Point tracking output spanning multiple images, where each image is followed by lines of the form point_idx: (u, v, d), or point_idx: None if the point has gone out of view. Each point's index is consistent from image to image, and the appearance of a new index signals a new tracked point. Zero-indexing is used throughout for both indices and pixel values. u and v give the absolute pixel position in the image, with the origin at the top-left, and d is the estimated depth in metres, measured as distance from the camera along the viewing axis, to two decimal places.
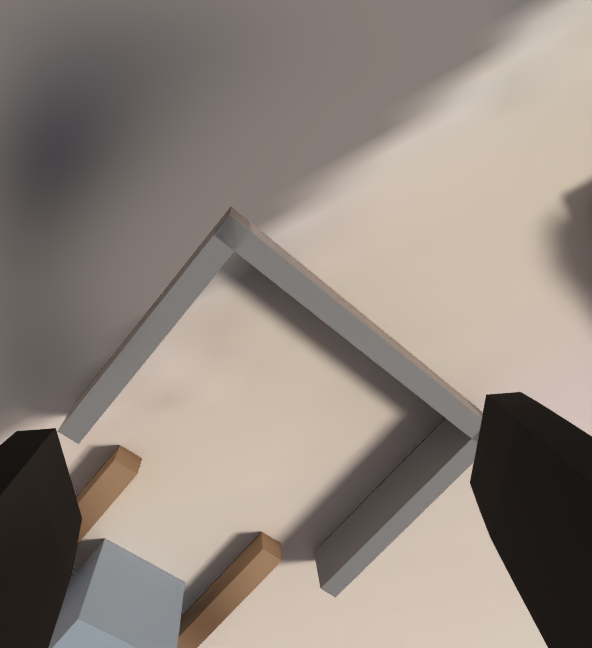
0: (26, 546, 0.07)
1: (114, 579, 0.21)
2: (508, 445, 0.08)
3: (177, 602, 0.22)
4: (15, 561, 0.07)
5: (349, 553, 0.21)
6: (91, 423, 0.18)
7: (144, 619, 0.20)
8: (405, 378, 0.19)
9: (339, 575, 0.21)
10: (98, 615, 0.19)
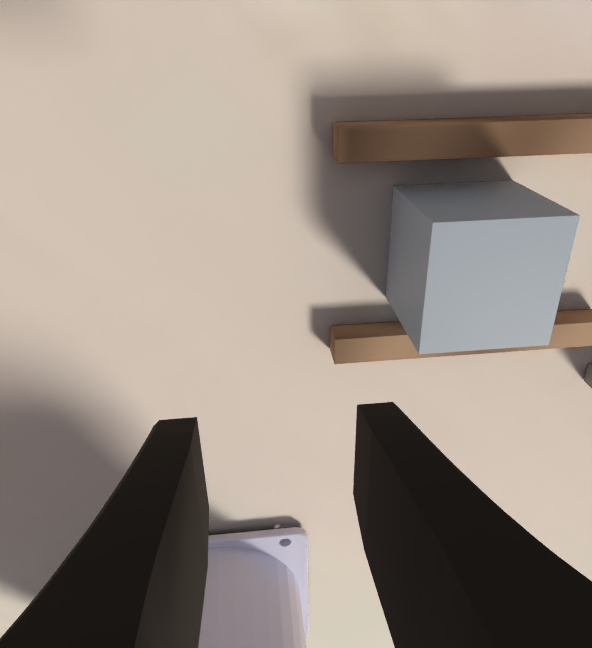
0: (190, 530, 0.07)
1: None
2: (369, 457, 0.08)
3: None
4: (186, 545, 0.07)
5: None
6: None
7: None
8: None
9: None
10: None
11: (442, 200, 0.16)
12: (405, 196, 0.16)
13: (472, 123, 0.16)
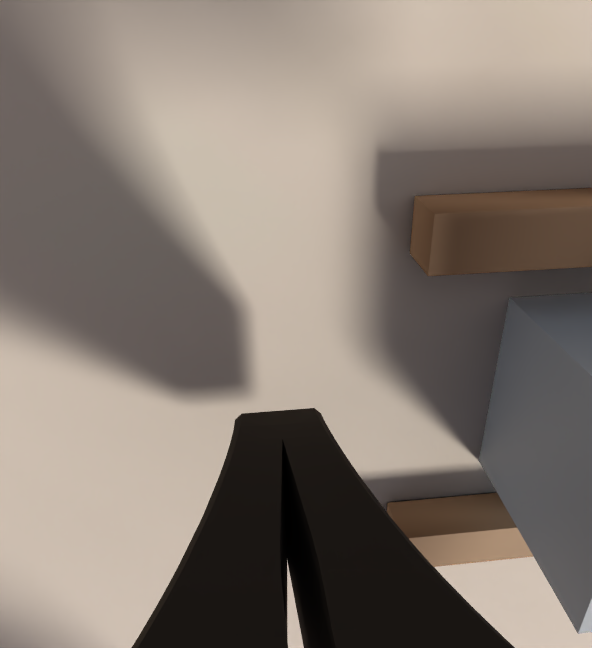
0: None
1: None
2: (283, 464, 0.08)
3: None
4: (283, 536, 0.07)
5: None
6: None
7: None
8: None
9: None
10: None
11: None
12: (546, 333, 0.09)
13: None
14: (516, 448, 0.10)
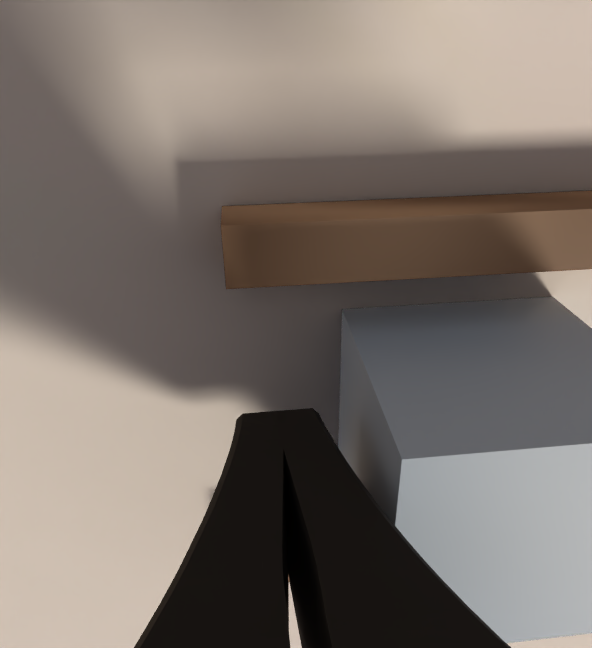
0: (285, 522, 0.08)
1: None
2: None
3: None
4: (284, 536, 0.07)
5: None
6: None
7: None
8: None
9: None
10: None
11: (427, 363, 0.08)
12: (357, 347, 0.09)
13: (484, 215, 0.08)
14: (350, 464, 0.10)
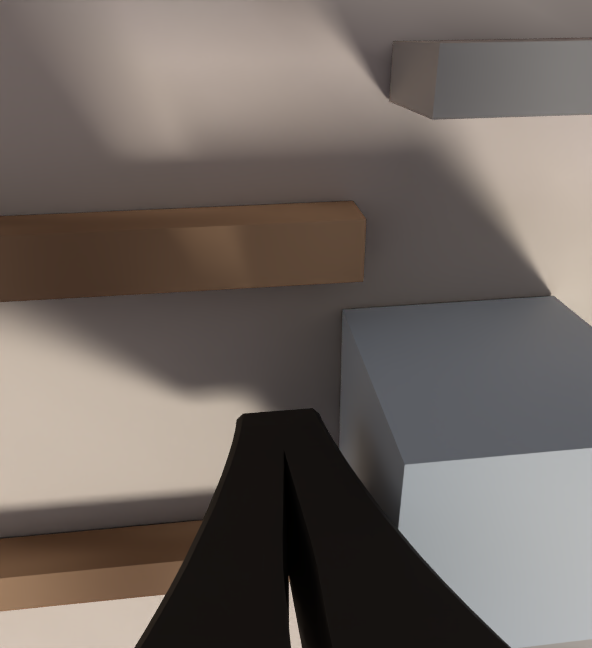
0: (285, 522, 0.08)
1: None
2: None
3: None
4: (285, 535, 0.07)
5: None
6: (507, 108, 0.06)
7: None
8: None
9: None
10: None
11: (429, 366, 0.08)
12: (359, 350, 0.08)
13: None
14: (352, 467, 0.10)
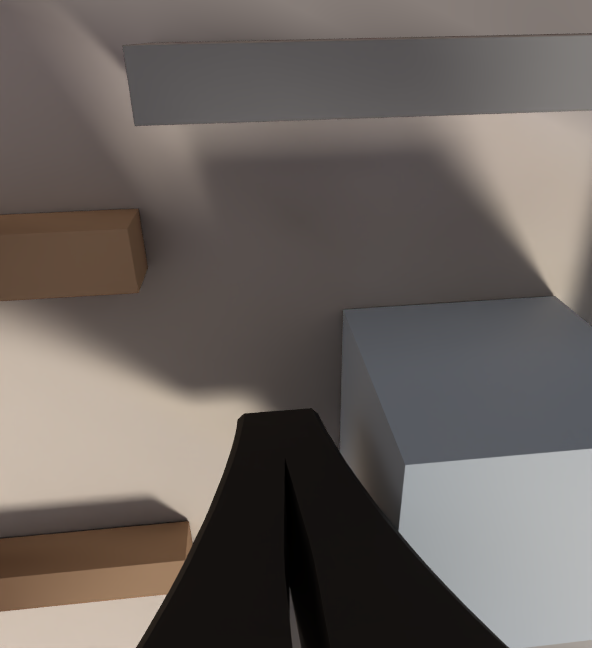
0: (286, 522, 0.08)
1: None
2: None
3: None
4: (286, 535, 0.07)
5: None
6: (215, 114, 0.06)
7: None
8: None
9: None
10: None
11: (430, 366, 0.08)
12: (360, 350, 0.08)
13: None
14: (353, 467, 0.10)
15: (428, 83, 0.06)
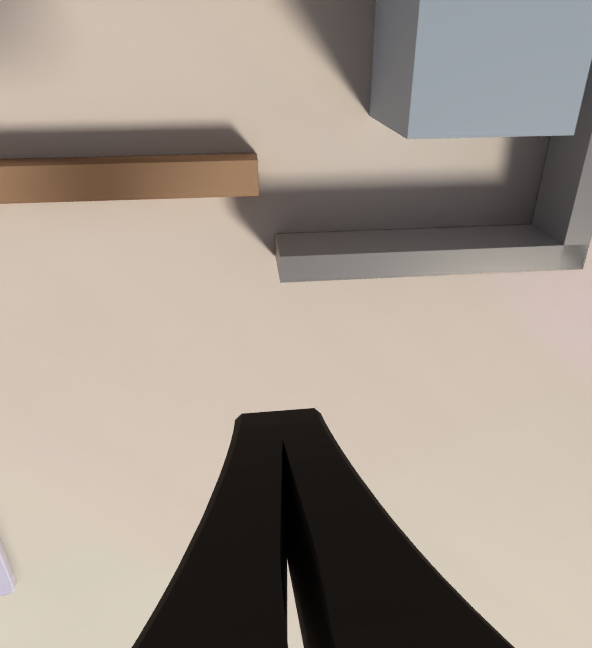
0: None
1: None
2: (283, 464, 0.08)
3: None
4: (283, 536, 0.07)
5: (341, 250, 0.16)
6: None
7: None
8: None
9: (311, 262, 0.15)
10: None
11: None
12: None
13: None
14: (383, 62, 0.14)
15: None
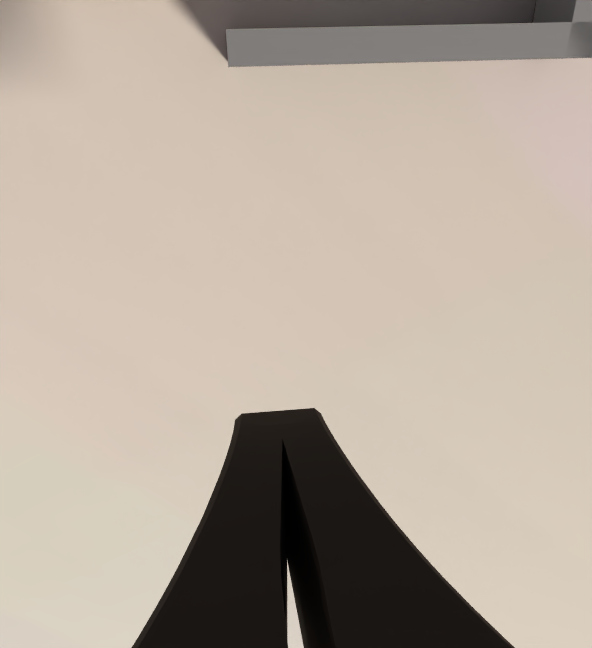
0: None
1: None
2: (283, 464, 0.08)
3: None
4: (283, 536, 0.07)
5: None
6: None
7: None
8: None
9: (264, 38, 0.13)
10: None
11: None
12: None
13: None
14: None
15: None
